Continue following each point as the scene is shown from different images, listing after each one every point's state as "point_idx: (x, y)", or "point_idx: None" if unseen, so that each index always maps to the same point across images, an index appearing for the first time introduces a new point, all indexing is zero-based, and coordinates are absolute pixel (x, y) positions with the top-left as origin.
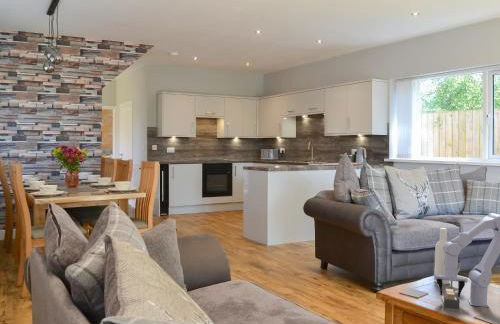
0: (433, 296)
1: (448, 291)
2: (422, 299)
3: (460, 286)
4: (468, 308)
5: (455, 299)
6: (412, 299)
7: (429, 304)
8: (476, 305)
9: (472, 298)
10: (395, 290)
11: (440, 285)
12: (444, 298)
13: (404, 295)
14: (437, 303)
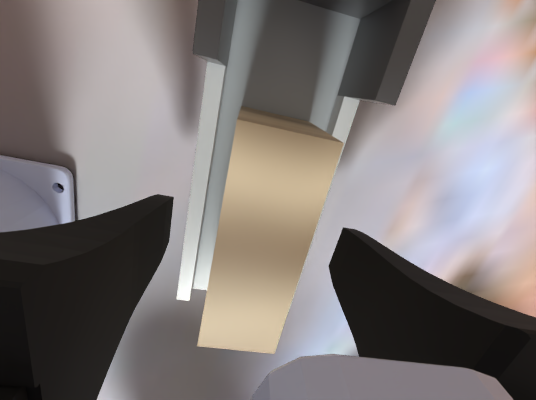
0: (326, 326)
1: (279, 264)
2: (441, 253)
3: (60, 247)
4: (105, 73)
5: (196, 235)
6: (520, 240)
7: (451, 138)
8: (10, 158)
9: (8, 226)
10: None
11: (460, 296)
12: (431, 2)
13: (522, 309)
14: (365, 178)
